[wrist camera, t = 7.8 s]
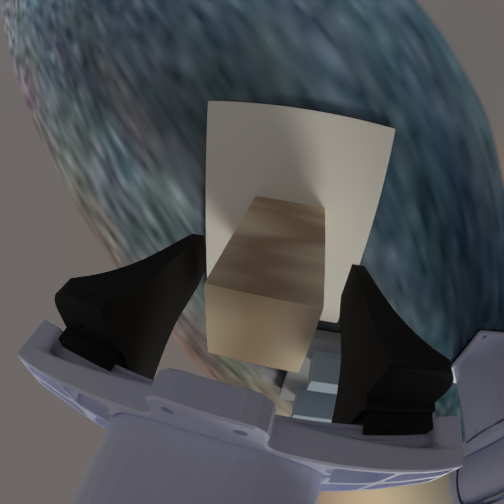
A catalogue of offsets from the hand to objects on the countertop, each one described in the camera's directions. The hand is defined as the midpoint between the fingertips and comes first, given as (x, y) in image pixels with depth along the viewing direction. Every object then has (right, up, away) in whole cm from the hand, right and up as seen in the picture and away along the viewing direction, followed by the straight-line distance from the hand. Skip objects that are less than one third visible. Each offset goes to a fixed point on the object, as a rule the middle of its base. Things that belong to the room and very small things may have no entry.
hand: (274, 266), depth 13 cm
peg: (+1, +2, +3) cm, 4 cm away
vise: (+7, -11, +10) cm, 16 cm away
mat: (+1, +2, +4) cm, 4 cm away
